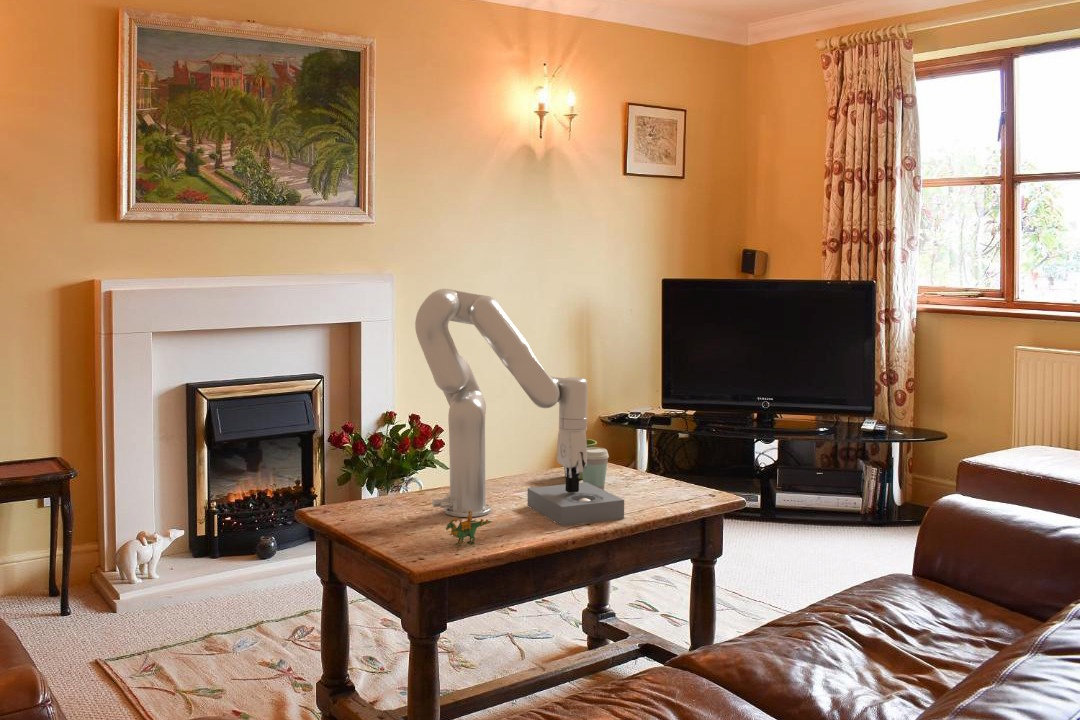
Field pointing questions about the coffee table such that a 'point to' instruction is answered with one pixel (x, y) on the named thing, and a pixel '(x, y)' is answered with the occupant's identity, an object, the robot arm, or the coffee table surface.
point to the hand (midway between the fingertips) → (572, 491)
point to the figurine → (465, 528)
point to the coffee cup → (596, 467)
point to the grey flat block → (575, 504)
